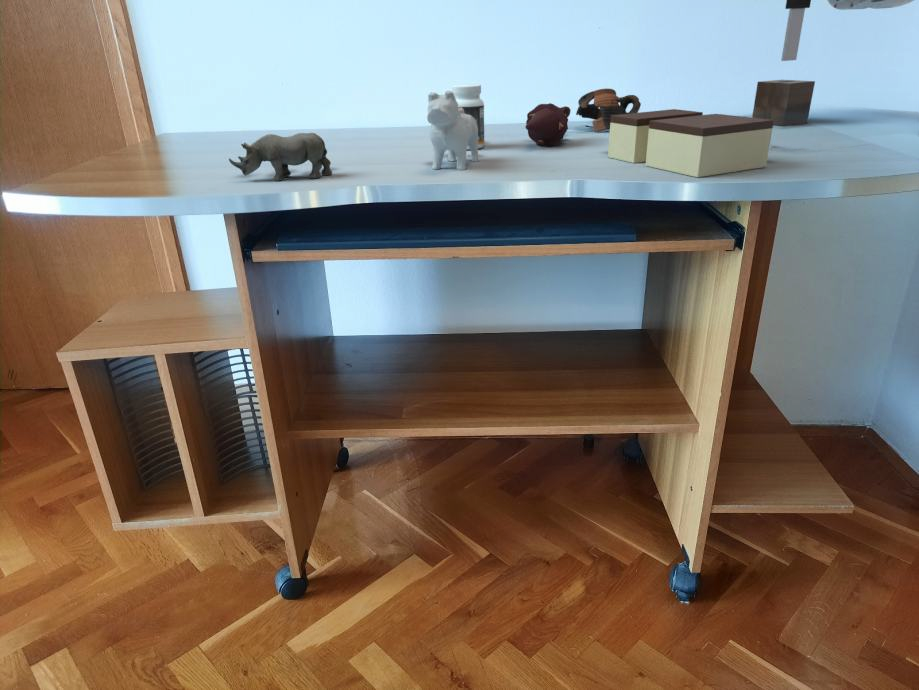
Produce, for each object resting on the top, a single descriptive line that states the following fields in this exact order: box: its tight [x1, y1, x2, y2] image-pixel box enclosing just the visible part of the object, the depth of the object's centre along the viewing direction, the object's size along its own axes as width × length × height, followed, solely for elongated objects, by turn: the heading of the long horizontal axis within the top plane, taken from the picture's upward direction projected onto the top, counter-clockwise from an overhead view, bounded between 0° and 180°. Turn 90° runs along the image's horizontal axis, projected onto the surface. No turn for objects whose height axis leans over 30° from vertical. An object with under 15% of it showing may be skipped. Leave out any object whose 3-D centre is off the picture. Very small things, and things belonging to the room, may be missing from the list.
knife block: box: [751, 79, 816, 128], centre depth 115 cm, size 7×6×8 cm
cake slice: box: [607, 108, 704, 164], centre depth 95 cm, size 6×12×6 cm, turn 115°
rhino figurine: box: [228, 132, 333, 182], centre depth 89 cm, size 4×14×6 cm, turn 98°
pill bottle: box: [452, 83, 485, 151], centre depth 107 cm, size 6×6×10 cm
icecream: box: [525, 102, 571, 147], centre depth 107 cm, size 7×7×15 cm
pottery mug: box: [575, 88, 642, 133], centre depth 123 cm, size 12×10×8 cm
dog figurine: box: [426, 90, 479, 171], centre depth 92 cm, size 5×13×11 cm, turn 163°
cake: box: [645, 113, 774, 178], centre depth 86 cm, size 10×12×6 cm
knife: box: [781, 0, 812, 62], centre depth 107 cm, size 2×3×16 cm
